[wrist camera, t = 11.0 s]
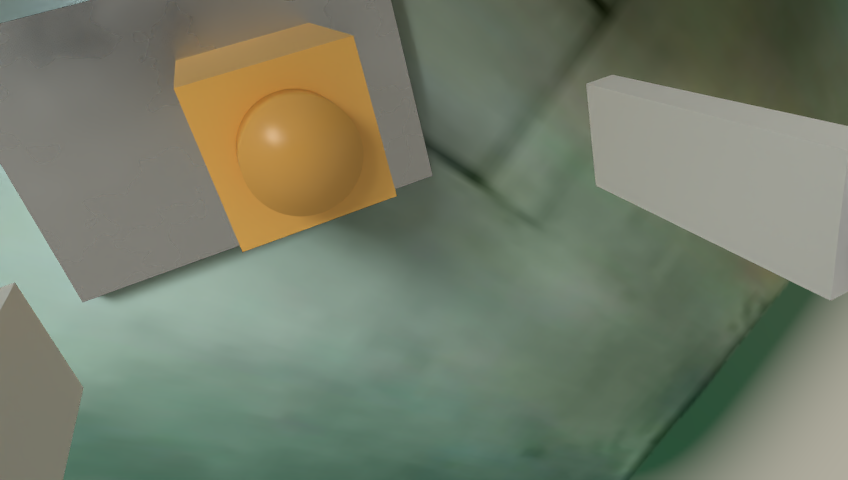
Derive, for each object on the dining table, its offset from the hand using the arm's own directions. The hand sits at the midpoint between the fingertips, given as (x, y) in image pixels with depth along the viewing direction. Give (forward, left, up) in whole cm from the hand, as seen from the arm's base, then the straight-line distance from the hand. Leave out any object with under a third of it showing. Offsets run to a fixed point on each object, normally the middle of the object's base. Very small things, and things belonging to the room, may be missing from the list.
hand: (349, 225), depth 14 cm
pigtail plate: (-2, 0, -17) cm, 17 cm away
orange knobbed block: (0, 0, -16) cm, 16 cm away
